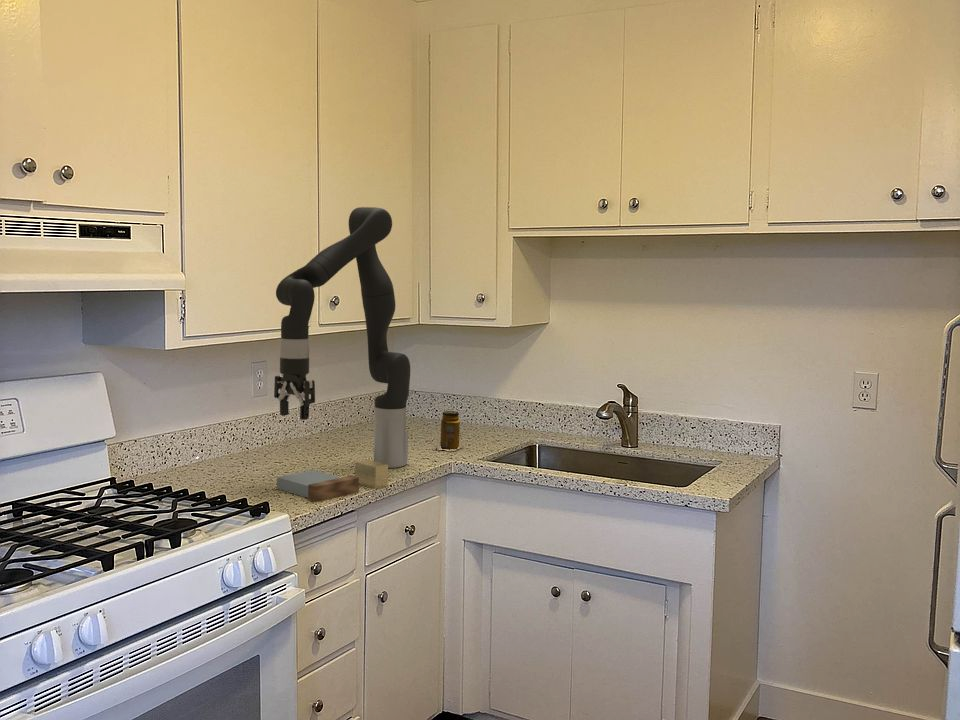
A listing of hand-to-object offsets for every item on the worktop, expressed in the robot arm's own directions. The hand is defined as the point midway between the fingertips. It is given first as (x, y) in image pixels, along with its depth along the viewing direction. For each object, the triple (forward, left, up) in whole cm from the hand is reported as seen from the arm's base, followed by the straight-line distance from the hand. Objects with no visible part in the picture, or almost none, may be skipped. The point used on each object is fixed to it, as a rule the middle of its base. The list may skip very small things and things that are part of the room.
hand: (294, 417), depth 235 cm
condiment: (-65, -4, -18) cm, 68 cm away
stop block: (0, +17, -18) cm, 24 cm away
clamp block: (-15, +14, -18) cm, 27 cm away
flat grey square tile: (0, +8, -18) cm, 20 cm away
